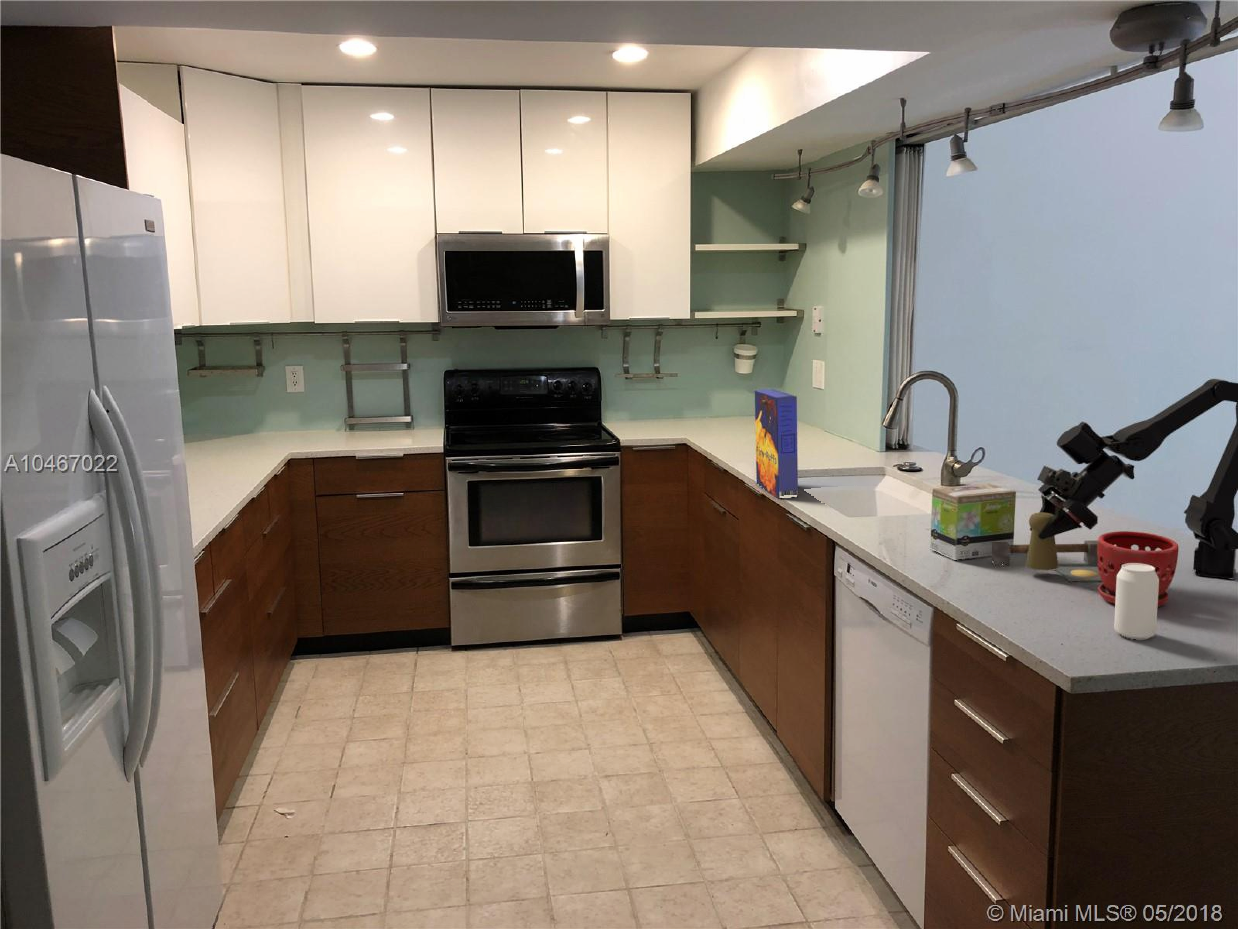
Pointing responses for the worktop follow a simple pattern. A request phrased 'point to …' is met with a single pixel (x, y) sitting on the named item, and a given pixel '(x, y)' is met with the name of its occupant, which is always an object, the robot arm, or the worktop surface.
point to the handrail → (1089, 548)
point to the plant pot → (1135, 559)
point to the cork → (1041, 544)
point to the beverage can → (1136, 601)
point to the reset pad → (1080, 574)
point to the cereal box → (776, 442)
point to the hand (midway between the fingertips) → (1035, 534)
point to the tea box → (971, 519)
